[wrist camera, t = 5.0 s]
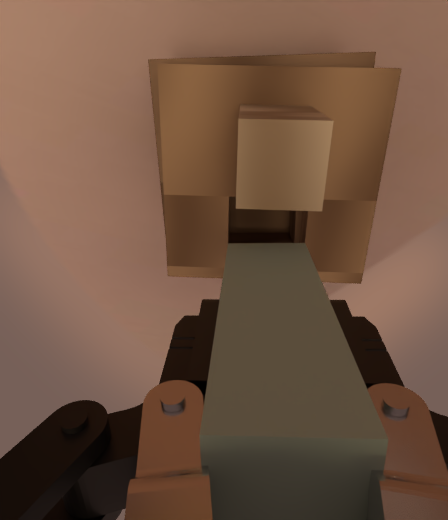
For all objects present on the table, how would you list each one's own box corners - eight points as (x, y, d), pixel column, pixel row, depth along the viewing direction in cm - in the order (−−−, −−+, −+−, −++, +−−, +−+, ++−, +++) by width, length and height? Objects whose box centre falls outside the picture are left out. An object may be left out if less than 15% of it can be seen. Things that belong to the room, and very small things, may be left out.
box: (345, 54, 23) (375, 51, 18) (330, 220, 27) (351, 259, 22) (170, 60, 24) (148, 59, 18) (183, 222, 28) (168, 260, 23)
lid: (389, 68, 18) (459, 70, 12) (354, 270, 22) (392, 344, 16) (163, 63, 18) (125, 64, 12) (172, 263, 23) (146, 333, 17)
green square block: (305, 242, 16) (388, 438, 6) (302, 311, 17) (369, 567, 7) (227, 243, 16) (199, 435, 7) (229, 311, 17) (206, 560, 8)
